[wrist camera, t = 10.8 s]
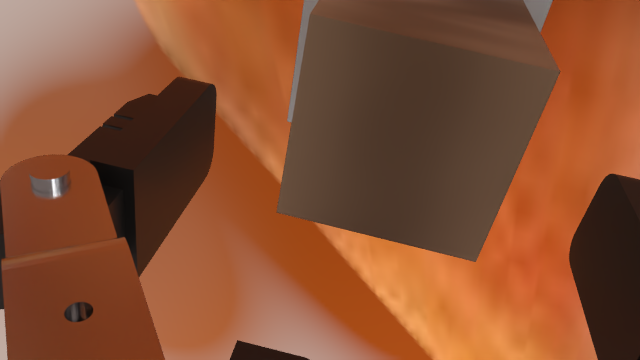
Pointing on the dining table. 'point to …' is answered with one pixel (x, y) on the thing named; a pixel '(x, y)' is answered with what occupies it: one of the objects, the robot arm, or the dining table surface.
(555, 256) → the dining table surface
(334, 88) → the walnut block
